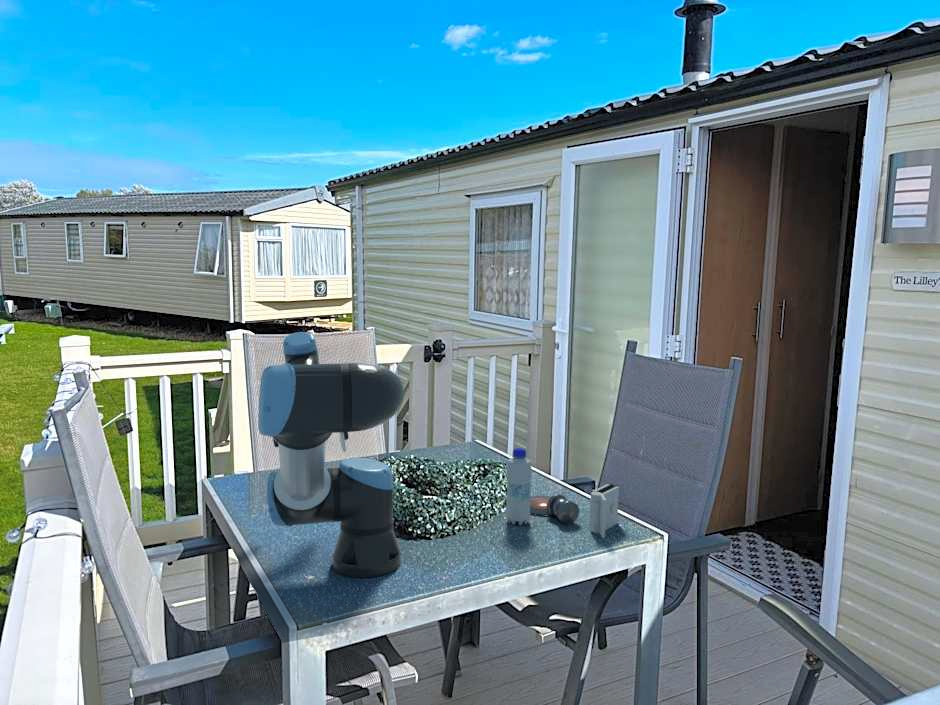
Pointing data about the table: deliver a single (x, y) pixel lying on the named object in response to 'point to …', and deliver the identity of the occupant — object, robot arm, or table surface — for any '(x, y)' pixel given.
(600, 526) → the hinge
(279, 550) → the table surface
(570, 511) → the fitting
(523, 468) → the bottle
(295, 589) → the table surface
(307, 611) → the table surface
